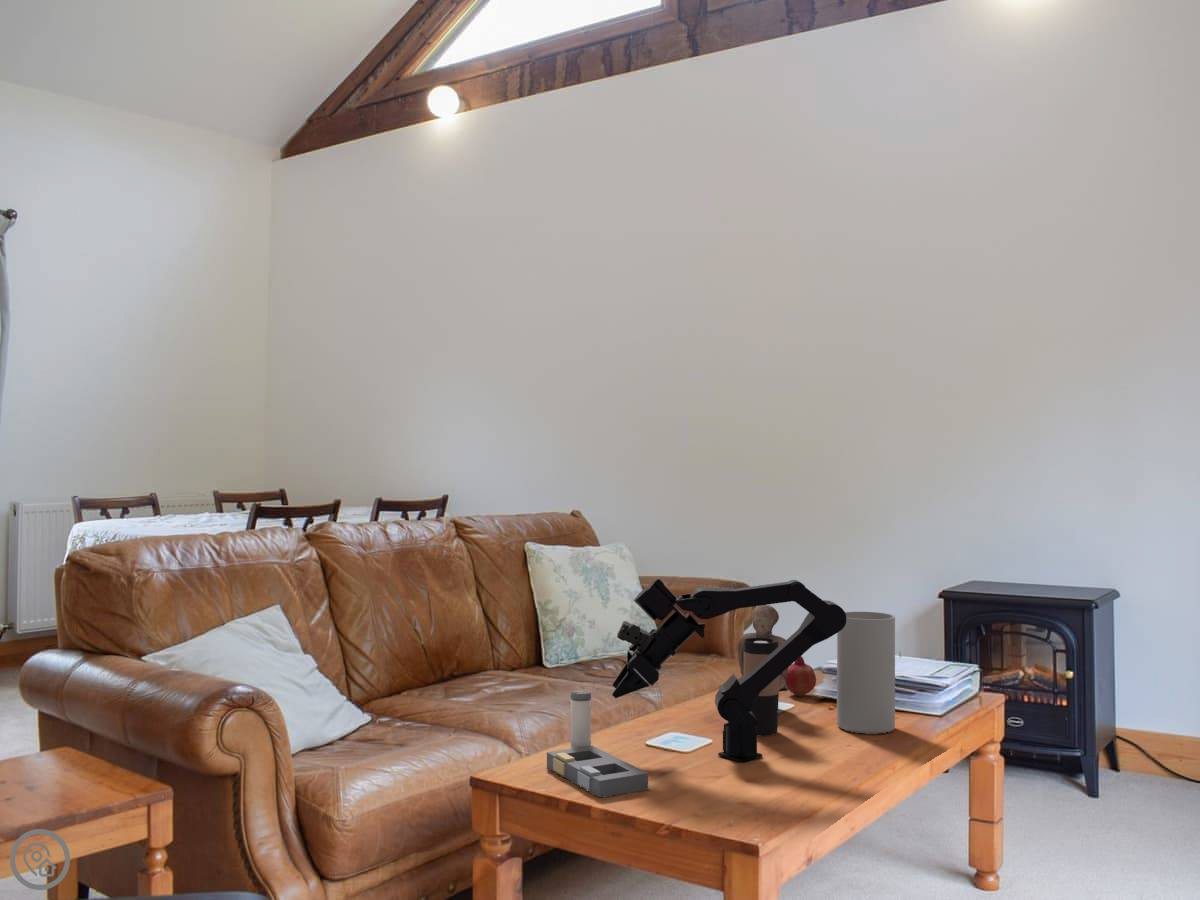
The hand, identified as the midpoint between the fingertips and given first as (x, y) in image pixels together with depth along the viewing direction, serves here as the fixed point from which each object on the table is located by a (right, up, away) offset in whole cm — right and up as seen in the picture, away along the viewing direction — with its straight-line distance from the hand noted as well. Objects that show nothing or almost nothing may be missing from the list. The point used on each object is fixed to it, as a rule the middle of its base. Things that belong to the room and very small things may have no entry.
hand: (613, 691), depth 214 cm
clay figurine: (+36, -14, +40) cm, 56 cm away
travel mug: (+32, -13, +19) cm, 40 cm away
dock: (-4, -13, -16) cm, 20 cm away
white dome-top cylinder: (-7, -13, 0) cm, 15 cm away
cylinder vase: (+56, -14, +23) cm, 62 cm away
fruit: (+48, -14, +56) cm, 75 cm away
